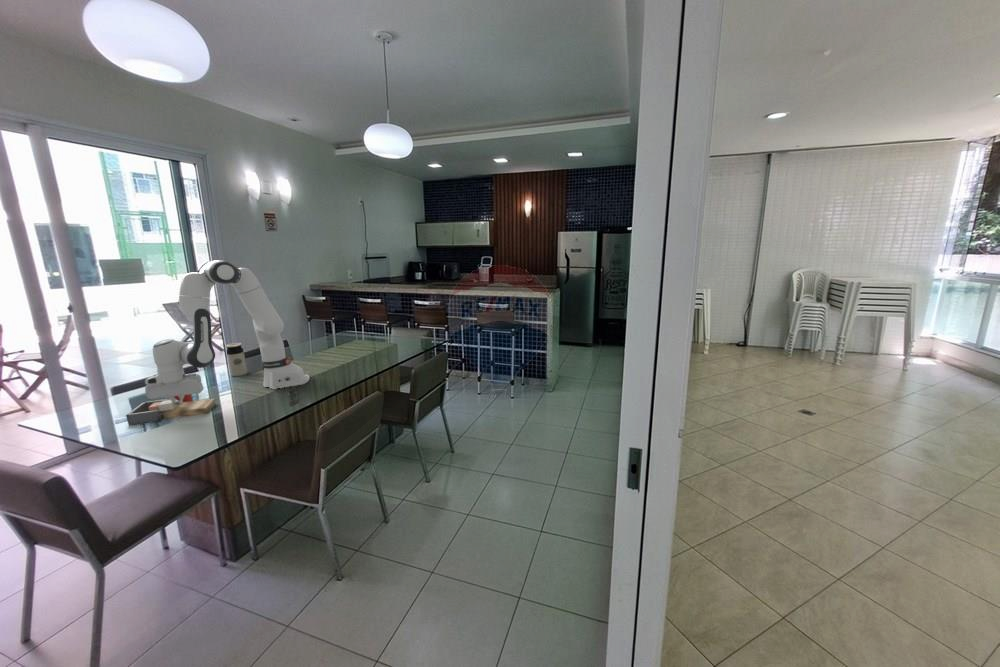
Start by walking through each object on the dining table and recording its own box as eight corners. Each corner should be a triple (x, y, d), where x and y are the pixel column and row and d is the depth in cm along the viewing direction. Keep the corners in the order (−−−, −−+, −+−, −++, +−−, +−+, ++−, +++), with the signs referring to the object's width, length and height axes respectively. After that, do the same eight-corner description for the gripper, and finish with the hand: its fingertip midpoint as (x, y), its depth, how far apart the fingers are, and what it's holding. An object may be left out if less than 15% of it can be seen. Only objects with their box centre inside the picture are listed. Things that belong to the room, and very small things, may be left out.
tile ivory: (178, 404, 176) (176, 399, 175) (173, 409, 171) (171, 403, 170) (165, 406, 174) (163, 400, 173) (159, 411, 170) (157, 405, 169)
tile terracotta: (162, 401, 173) (154, 402, 172) (156, 406, 169) (148, 407, 168) (164, 411, 175) (156, 412, 174) (159, 416, 170) (151, 417, 169)
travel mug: (232, 373, 225) (226, 343, 221) (248, 370, 229) (243, 342, 224) (230, 377, 218) (223, 347, 214) (246, 375, 222) (240, 345, 217)
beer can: (196, 401, 187) (190, 378, 184) (181, 407, 181) (175, 383, 178) (187, 399, 189) (181, 377, 186) (172, 405, 183) (166, 382, 180)
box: (175, 408, 180) (173, 398, 178) (160, 421, 167) (157, 410, 165) (146, 411, 176) (143, 401, 175) (128, 425, 163) (125, 415, 162)
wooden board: (215, 404, 183) (214, 398, 182) (206, 413, 173) (205, 407, 172) (175, 409, 178) (174, 403, 178) (164, 419, 168) (162, 413, 167)
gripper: (202, 370, 176) (208, 398, 179) (147, 376, 170) (155, 405, 173) (196, 375, 170) (203, 403, 174) (140, 381, 164) (147, 410, 167)
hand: (178, 404), depth 173 cm, fingers closed
